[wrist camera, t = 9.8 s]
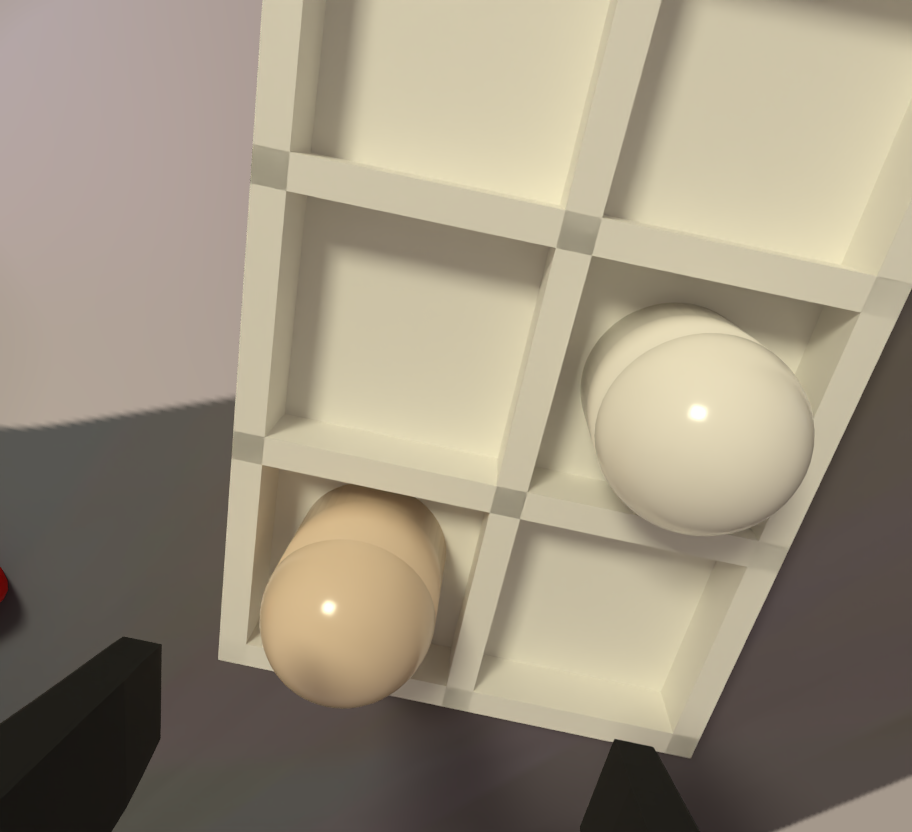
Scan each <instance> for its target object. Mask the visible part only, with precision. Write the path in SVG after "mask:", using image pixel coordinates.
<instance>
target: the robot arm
mask: <svg viewBox="0 0 912 832" xmlns="http://www.w3.org/2000/svg"><path fill="white" fill-rule="evenodd" d="M161 646H162V644H157V643H152V642H147V641H142V640H138V639H133V638H128V637H122V638H120V639H119V640H117V641H116V642H114V643H113V644H111V645H110V646H109V647H107V648H106V649H104V650H103V651H102V652H100V653H99V654H97V655H96V656H95V657H93V658H92V659H90V660H89V661H88V662H86V663H85V664H84V665H82V666H81V667H79V668H78V669H77V670H75V671H74V672H73V673H71V674H70V675H68V676H67V677H66V678H64V679H63V680H61V681H60V682H59V683H57V684H56V685H54V686H53V687H52V688H50V689H49V690H47V691H46V692H45V693H43V694H42V695H40V696H39V697H38V698H36V699H35V700H33V701H32V702H31V703H29V704H28V705H26V706H25V707H23V708H22V709H21V710H19V711H18V712H16V713H15V714H13V715H12V716H10V717H9V718H7V719H6V720H5V721H3V722H2V723H0V832H112V830H113V828H114V827H115V825H116V823H117V822H118V820H119V819H120V817H121V815H122V814H123V812H124V810H125V809H126V807H127V805H128V803H129V801H130V799H131V797H132V795H133V793H134V791H135V789H136V787H137V786H138V784H139V782H140V780H141V778H142V776H143V774H144V772H145V769H146V767H147V765H148V763H149V761H150V759H151V757H152V755H153V753H154V751H155V749H156V747H157V745H158V743H159V740H160V728H161ZM580 832H700V831H699V829H698V827H697V825H696V824H695V822H694V820H693V818H692V816H691V815H690V813H689V811H688V809H687V807H686V805H685V804H684V802H683V800H682V798H681V796H680V794H679V792H678V791H677V789H676V787H675V785H674V783H673V781H672V780H671V778H670V776H669V774H668V772H667V770H666V768H665V767H664V765H663V763H662V761H661V759H660V757H659V755H658V754H657V752H656V751H655V749H654V747H652V746H647V745H642V744H637V743H633V742H628V741H623V740H618V739H614V741H613V744H612V746H611V749H610V752H609V754H608V757H607V759H606V762H605V764H604V767H603V769H602V772H601V775H600V777H599V780H598V782H597V785H596V787H595V790H594V792H593V795H592V798H591V800H590V803H589V805H588V808H587V810H586V813H585V816H584V818H583V821H582V823H581V826H580Z"/></svg>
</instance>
